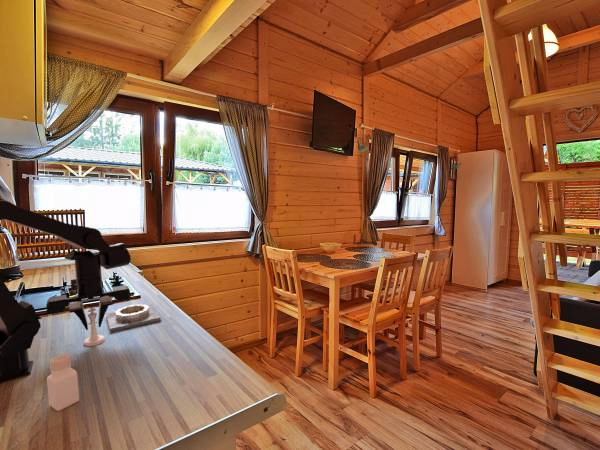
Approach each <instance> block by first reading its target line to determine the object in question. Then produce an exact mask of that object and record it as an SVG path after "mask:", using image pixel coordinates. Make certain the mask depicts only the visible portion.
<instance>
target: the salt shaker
mask: <svg viewBox="0 0 600 450" xmlns="http://www.w3.org/2000/svg"><path fill="white" fill-rule="evenodd" d="M71 359H72V358H71V354H68V353H64V354H59V355H56V356H54V357H52V358H51V359H50V360H49V365H50V371H51V374H49V375H48V376H47V377H46V384H47V385H46V387H47V395H48V397H47V398H48V404H49V406H50V407H52V408H53V410H55V411H57V412H60V411H62V410H64V409H66V408H68V407H70V406H72V405H74V404H76V403H78V402H79V400H80V390H79V381H78V380H79V379H78V372H77V371H76V369H75V368H72V360H71Z"/></svg>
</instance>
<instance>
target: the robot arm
mask: <svg viewBox="0 0 600 450" xmlns="http://www.w3.org/2000/svg"><path fill="white" fill-rule="evenodd" d="M2 220H3V221H5V222H10V223H13V224H16V225H18V226H22V227H25V228H28V229H32V230H35V231H39V232H41V233H44V234H48V235H51V236H54V237H55V238H58V239H59V240H60V241H62V242H64V243H66V244H68V245H70V246H72V247H73V248H76V249H77V248H79V249H84V250H83V251H77V250H76V249H75V250H74V249H71V250H70V252H69V253H67V254H66V255H65V256H64V259H65V260H69V261H74V267H75V279H70V289H71V290H70V291H71V292H77V296H72V297H67V294H62V295H56V296H50V297H49V298H48V299H47V300H46V314H53V313H55V314H56V313H60V312H63V311H64V310H65V309H66V308H67V306H68V312H69V313H74V314H75V315H76V316H77V317H78V318H79V320H80V322H81V324H82V325H83V327H84V329H85V330H86V331H88V330H89V324H88V320H87V316H86V313H85V309H84V303H90V302H96V301H99V302H98V303H99V305H98V306H99V307H98V319H97V323H98V328H101V327H102V323H103V322H104V321H103V320H104V317H105V315H106V314H107V313H106V312H107V311H108V308H109V307H110V306H112V305H114V301H113V298H114V299H115V300H117V301H118V302H119V301H120V302H121V301H125V300H129V299H131V298H132V297H131V295H132V294H131V289H130V287H129V286H127V285H125V284H123V285H119V286H118V285H117V286H113V287H112V290H111V291H109V290H108V291H104V289H103V280H102V279H103V278H102V277H103V276H102V269H101V268H103V269H105V270H111V269H115V268H121V267H124V266H129V264H131V257H132V256H131V254H130V252H129V250H128V248H127V247H126V244H125V243H122V242H120V243H116V244H111V245H110V244H108V243H107V242H106V240H104V239H103V235H102V234H101V233H102V232H101V231H100V230H99V229H97V228H94V227H90V226H83V225H78V224H77V225H76V224H72V223H67V222H64V221H62V220H61V221H60V220H58V219H55V218H52V217H50V216H47V215H44V214H41V213H39V212H35V211H33V210H31V209H27V208H25V207H21V206H19V205H15V204H13V203H12V202H11V201H8V200H0V221H2ZM91 250H92V251H97V252H92V251H91ZM42 319H43V318H42V317H41V316H39V315H38V314H37V312H36V310H35V307H34V306H33V304H31V303H29V302H27V301H24V300H20V301H19V302H18V301H17V299H16V298H15V297H14V295H13V294H12V292H11V291H10V289H9V287H7V285H6V283H5V281H4V280H3V279H2V277H1V276H0V383H3V382H6V381H11V380H14V379H18V378H21V377H25V376H29V375H30V374H31V372H32V368H33V366H34V365H33V364H34V360H30V359H29V350H30V349H31V347H32V345H33V341H34V339H35V336H36V335H37V334H38V333H39V330H40V329H41V326H42V325H41V322H40V320H42Z"/></svg>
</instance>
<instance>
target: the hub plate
mask: <svg viewBox="0 0 600 450" xmlns="http://www.w3.org/2000/svg"><path fill="white" fill-rule="evenodd" d="M105 315H106V321H107V325H108V329H109V330H108V331H109V333H114V332H115V333H116V332H119V331H123V330H127V329H133V328H135V327H136V328H137V327H141V326H144V325H148V324H149V325H150V324H153V323H158V322H161V321H162V320H161V316H160V315H159V313H158V311H157V310H156V309H155V307H154V305H153V304H149V305H147V304H141V303H139V304H131V305H128V306H123V307H120V308H118V309H117V310H116V311H114V312H113V311H112V312H110V313H109V312H108V313H105Z"/></svg>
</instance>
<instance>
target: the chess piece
mask: <svg viewBox="0 0 600 450" xmlns="http://www.w3.org/2000/svg"><path fill="white" fill-rule="evenodd" d="M96 310H97V309H96V308H94V307H93V306H90V308H89V309H88V310H87V311H88V314H87V317H88V319H89V322H87V324H88V326H89V325H90V336H88V337H87V338H86V339H85V340H84V341H83V345H84V346H86V347H93V346H97V345H100V344H102V343H103V342H105V341H106V338H105V336H104V335H100V334H98V331H97V330H98V329H97V326H96V324H97V323H98V320H96V317H97V314H98V313H97V312H94V311H96Z"/></svg>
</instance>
